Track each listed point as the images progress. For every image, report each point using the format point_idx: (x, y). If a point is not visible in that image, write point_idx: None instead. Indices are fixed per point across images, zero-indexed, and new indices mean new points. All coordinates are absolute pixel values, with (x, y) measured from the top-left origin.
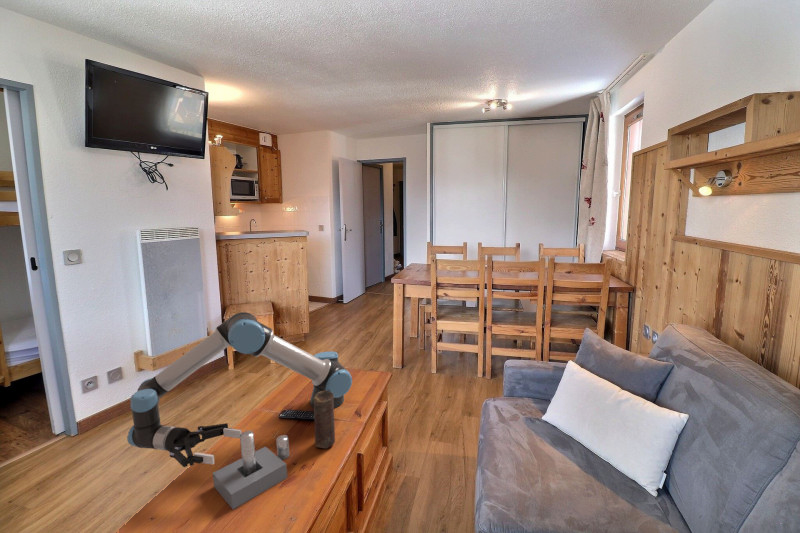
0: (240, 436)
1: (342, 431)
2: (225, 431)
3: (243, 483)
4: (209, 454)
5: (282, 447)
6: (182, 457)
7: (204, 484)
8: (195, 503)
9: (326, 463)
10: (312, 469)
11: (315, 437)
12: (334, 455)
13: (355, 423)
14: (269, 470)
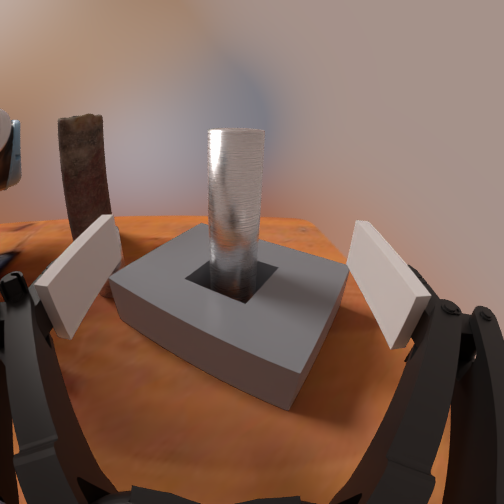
0: (257, 131)
1: (62, 230)
2: (63, 290)
3: (302, 261)
4: (366, 233)
5: (121, 247)
6: (494, 335)
7: (287, 459)
8: (378, 409)
9: (157, 226)
10: (174, 236)
11: (95, 220)
12: (134, 223)
13: (48, 223)
14: None
